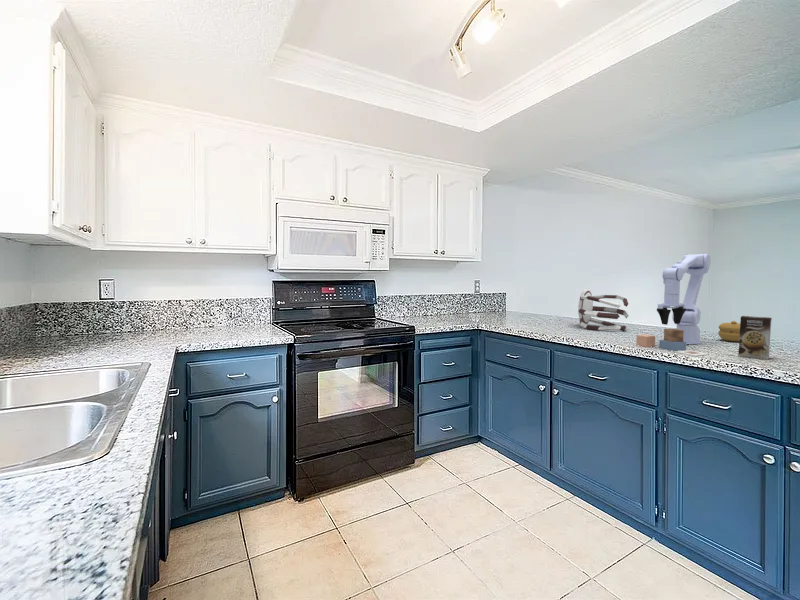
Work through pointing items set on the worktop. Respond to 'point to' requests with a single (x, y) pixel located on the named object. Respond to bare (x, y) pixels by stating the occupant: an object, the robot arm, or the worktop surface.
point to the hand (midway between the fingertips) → (670, 324)
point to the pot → (730, 331)
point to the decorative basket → (587, 311)
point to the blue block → (672, 345)
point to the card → (692, 353)
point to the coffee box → (754, 337)
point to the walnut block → (673, 335)
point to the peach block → (645, 340)
